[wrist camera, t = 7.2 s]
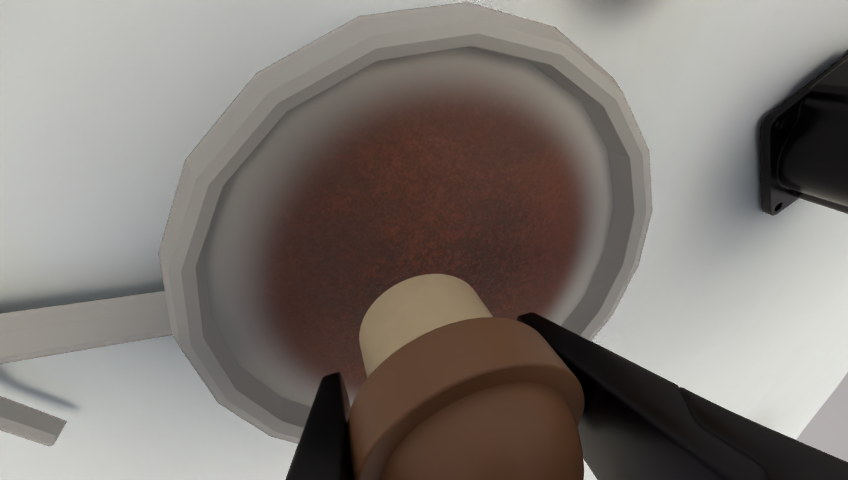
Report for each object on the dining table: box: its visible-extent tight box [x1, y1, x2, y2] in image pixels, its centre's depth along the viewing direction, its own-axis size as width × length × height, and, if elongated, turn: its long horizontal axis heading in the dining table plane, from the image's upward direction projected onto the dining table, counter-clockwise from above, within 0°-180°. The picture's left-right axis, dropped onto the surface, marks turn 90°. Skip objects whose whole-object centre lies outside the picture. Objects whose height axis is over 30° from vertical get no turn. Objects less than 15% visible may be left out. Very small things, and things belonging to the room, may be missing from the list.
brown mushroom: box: [347, 274, 584, 480], centre depth 7 cm, size 5×5×5 cm
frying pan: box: [0, 2, 652, 446], centre depth 12 cm, size 17×3×28 cm
